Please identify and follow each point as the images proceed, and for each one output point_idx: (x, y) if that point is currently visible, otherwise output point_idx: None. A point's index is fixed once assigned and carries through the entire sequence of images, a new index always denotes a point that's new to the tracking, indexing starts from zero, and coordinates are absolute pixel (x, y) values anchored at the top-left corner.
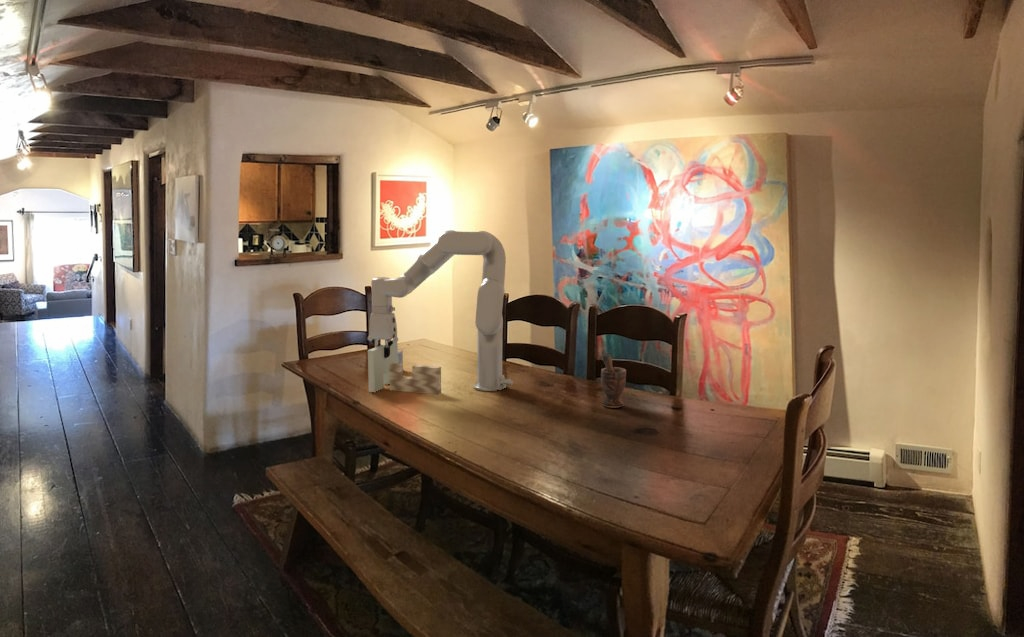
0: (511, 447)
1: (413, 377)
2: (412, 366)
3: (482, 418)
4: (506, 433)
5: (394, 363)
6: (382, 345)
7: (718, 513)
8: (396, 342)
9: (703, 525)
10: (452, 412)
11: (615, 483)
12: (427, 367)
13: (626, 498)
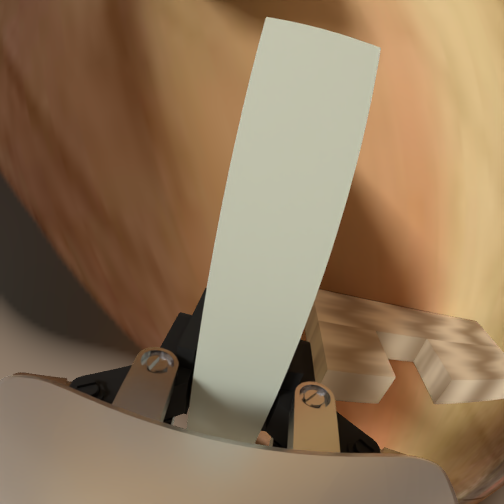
0: (457, 484)
1: (419, 367)
2: (434, 402)
3: (476, 441)
4: (473, 465)
5: (345, 374)
6: (220, 404)
7: (497, 488)
8: (370, 84)
9: (482, 498)
10: (448, 437)
11: (481, 490)
12: (482, 400)
13: (473, 498)
